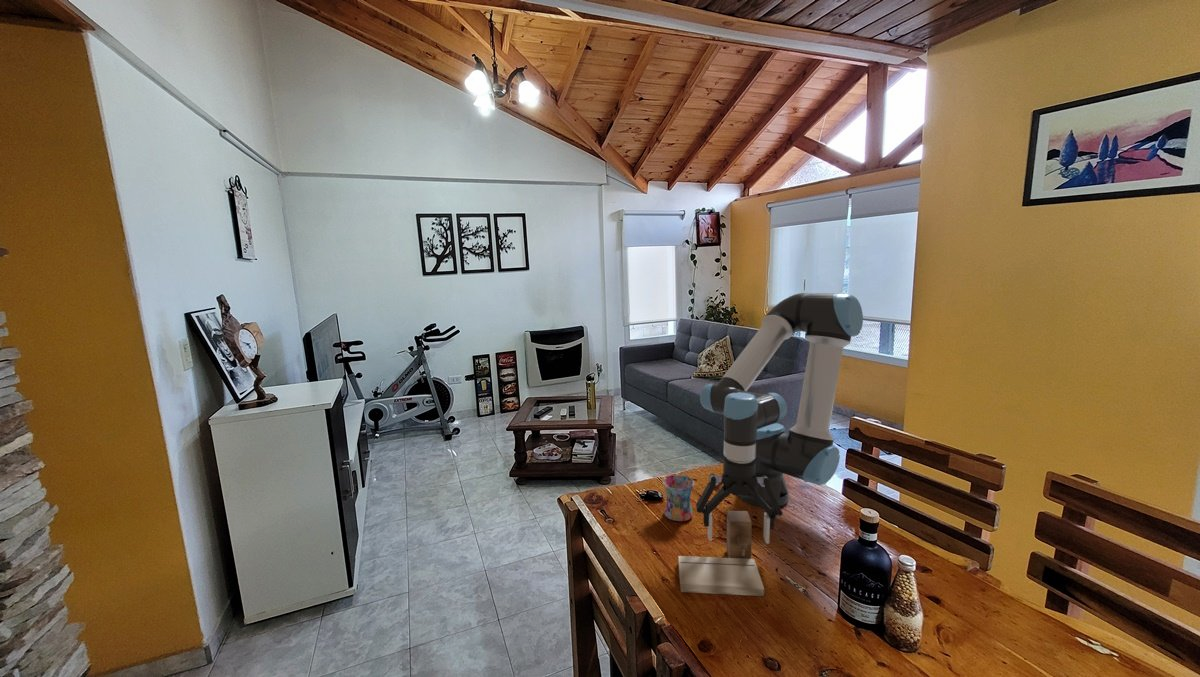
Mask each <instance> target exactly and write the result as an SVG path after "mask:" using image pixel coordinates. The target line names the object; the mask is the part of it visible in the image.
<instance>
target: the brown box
mask: <svg viewBox="0 0 1200 677" xmlns="http://www.w3.org/2000/svg"><path fill="white" fill-rule="evenodd" d="M752 524H753V523H752V520H751V517H750V514H749V512H748V510H726V552H727V553H726V554H727V558H743V559H752V526H753V525H752Z"/></svg>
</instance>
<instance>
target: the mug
mask: <svg viewBox="0 0 1200 677" xmlns="http://www.w3.org/2000/svg"><path fill="white" fill-rule="evenodd" d="M661 483H662V486H663V488H664V490H665V494H666V505H665V508H664V510H663V513H664V514H663V515H664V516H665V517H666V518H667V519H669V520H671V521H675V522H686V521H688V520H690V519H692V518H693V517H694V510H693V509H692V505H691V496H692V495H691V494H692V491H693V489H694V486H695V483H696V482H695V481H694V479H693V478H691V477H690V476H687V475H684V474H671V475H667V476H665V477H664V478H663V479H662V480H661Z"/></svg>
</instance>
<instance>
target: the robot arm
mask: <svg viewBox="0 0 1200 677" xmlns="http://www.w3.org/2000/svg"><path fill="white" fill-rule="evenodd" d="M863 315H864V314H863V309H862V306H861V303H860V301H859V299H858V298H857V297H855V296H854V295H853V294H848V293H839V292H836V293H834V292H832V293H831V292H830V293H829V292H828V293H827V292H824V293H823V292H818V293H817V292H816V293H815V292H814V293H812V292H801V293H795V294H793V295H790V296H788V297H787V298H784V299H783V300H781V301H780V302H778V303H776V304H775V305H774V306H773V307H772V308H771V309H770V310H769V311H768V312H767V313H766V315H764V317H763V319H762V320H761V326H760V327H759V329H758V330H757V332H756V333H755V334H754V335H753V337H752V338H751V339H750V341H749V342H748V343H747V344H746V346H745V347H744V349H743V350H742V351H741V352H740V354H739V355H738V356H737V357H736V359H735V360H734V362H733V363H732V365H730V367H729V368H728V370H727V371H726V372H725V373H724V374H723V376H722V377H721V379H720V380H719V381H718V382H717V384H716V383H708V384H705V385H704V386H703V388H702V389H701V390H700V394H699V402H700V404H701V406H702V408H704V409H705V410H707V411H710V412H713V413H714V414H720V415H723V430H724V431H723V463H722V465H723V466H722V471H723V472H722V475H721V476H720V475H716V474H714V473H712V472H711V473H710V475H709V481H708V483H707V484H706V486H705V488H704V490H703V491H702V493H701V495H700V497H699V499H698V500H697V502H696V505H695V506H696V511H697V513H701V514H703V518H702V519H703V525H704V527H707V537H708V541H710V542H712V541H713V513H712V512H713V511H714V510H715V509H716V508H717V507H719V505H720V504H721V503H722V502H723V501H724V500H725V499H726V498H728V497H729V496H730V495H733V496H738V497H739V499H740V500H742V501H743V502H745V503H747V504H750V505H752V506H755V507H760V508H761V509H762V510H763V511H764V512H763V535H762V536H763V539H764V542H765V544H767V545H768V544H770V536H771V535H770V534H771V533H770V532H771V530H774V528H775V520H776V518H777V516H779V517H781V516H783V514H784V513H783V511H782V509H781V507H783V506H785V505H786V504H787V503H788V502H789V499H790V497H789V496H790V494H789V492H790V491H789V489H788V485H787V482H786V479H785V477H784V475H788V476H791V477H793V478H795V479H798V480H802V481H803V482H804V483H809V484H813V485H817V486H823V485H825V484H827V483H828V482H829V481H830V480H831V479H832V478H833V477H834V475H835V473H836V471H837V469H838V467H839V464H840V459H841V458H840V457H841V455H840V449H839V448H838V447H837V446H835V445H834V440H835V438H834V437H833V435H832V434H831V433H830V427H831V421H832V416H833V415H832V414H833V410H834V403H835V397H836V391H837V388H838V387H837V385H838V380H839V374H840V368H841V362H842V357H843V351H844V348H846V347H847V346H849V345H850V344H851V342H852V341H851V340H852V337H856V336H858V335H859V334H860V333H861V330H862V329H863V322H864V319H863V318H864V317H863ZM797 332H805V338H806V340H807V342H809V348H808V354H807V360H806V366H805V370H804V377H803V378H804V379H803V384H802V389H801V394H800V400H799V406H798V411H797V412H798V413H797V418H796V423H795V424H794V425H793V426H791V427H790V428H789V431H788V433H786V429H785V426H784V425H783V424H781V423H778V422H780V421H781V420H783V419H784V418H785V417H786V415H787V414H788V405H787V401H786V400H785V399H784V397H783V396H781V395H780V394H779V393H776V392H765V393H762V394H761V393H756V392H752V391H751V392H750V391H748V390H749V389H750V387H751V386H752V385H753V384H754V382H755V381H756V379H757V377H759V375H760V374H761V373H762V371H763V370H764V368H765V367H766V365H767V364H768V363H769V361H770V360H771V359H772V357H773V356H774V355H775V353H776V352H777V351H778V349H779V348H780V346H781V345H782V344H783V342H784V341H785V340H788V339H790V338H791V337H792V336H793V334H795V333H797ZM719 483H722V486H721V487H720V490H718V492H717V493H716V494H715V495H714V496H713V497H712V498H711V496H712V494H713V493H714V490H715V488H716V486H718V485H719ZM710 498H711V499H710Z"/></svg>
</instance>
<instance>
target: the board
mask: <svg viewBox="0 0 1200 677" xmlns="http://www.w3.org/2000/svg"><path fill="white" fill-rule="evenodd" d="M677 558H678V562H677V563H678V575H679V586H680V592H681V593H695V594H697V593H698V594H711V595H712V594H717V595H734V596H755V597H756V596H757V597H765V587H764V584H763V580H762V578H761V575H760V572H759V570H758V566H757V563H756V561H755V560H756V559H755V558H751V559H743V558H729V557H716V556H715V557H714V556H696V555H695V556H693V555H689V556H688V555H687V556H686V555H678V557H677Z"/></svg>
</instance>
